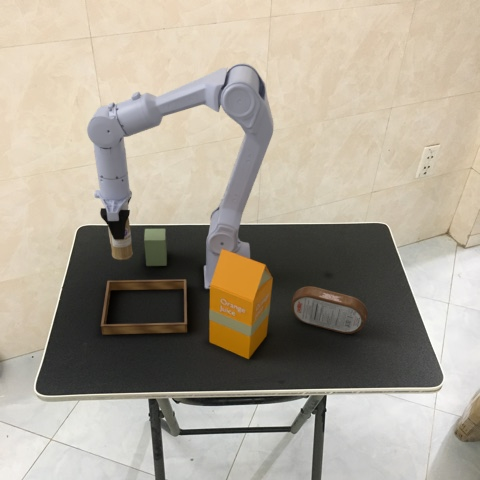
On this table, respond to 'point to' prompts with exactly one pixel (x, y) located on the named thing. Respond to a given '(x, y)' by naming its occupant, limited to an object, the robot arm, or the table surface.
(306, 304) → the tin
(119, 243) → the sprinkles bottle
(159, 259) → the block
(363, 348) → the table surface
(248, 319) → the orange juice
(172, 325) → the wooden frame
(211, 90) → the robot arm
